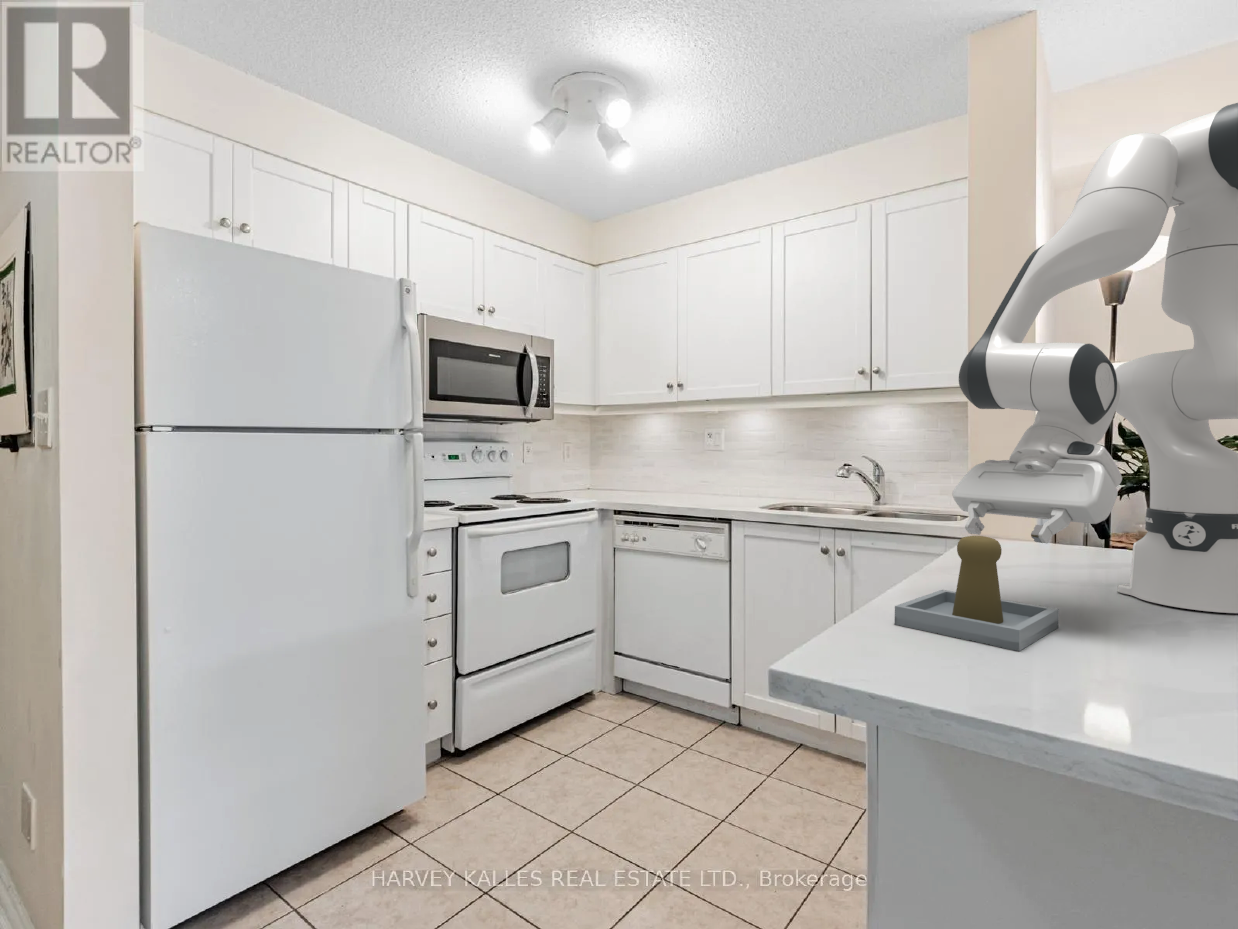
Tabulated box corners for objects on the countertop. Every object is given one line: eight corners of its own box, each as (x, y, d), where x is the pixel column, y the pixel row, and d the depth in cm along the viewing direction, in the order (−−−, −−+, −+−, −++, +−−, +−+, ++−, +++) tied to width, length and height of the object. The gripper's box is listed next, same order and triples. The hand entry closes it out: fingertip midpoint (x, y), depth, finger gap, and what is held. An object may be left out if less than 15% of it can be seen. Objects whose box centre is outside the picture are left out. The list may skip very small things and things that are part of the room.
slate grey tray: (941, 606, 98) (942, 589, 97) (1058, 627, 86) (1058, 609, 86) (894, 624, 88) (894, 606, 88) (1019, 651, 76) (1019, 630, 76)
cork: (1011, 625, 84) (1013, 540, 83) (961, 623, 85) (963, 539, 84) (992, 613, 90) (994, 534, 89) (945, 611, 91) (947, 532, 90)
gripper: (969, 446, 101) (926, 513, 97) (1117, 446, 83) (1072, 529, 79) (988, 474, 103) (946, 540, 99) (1136, 479, 85) (1093, 561, 81)
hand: (1003, 535), depth 89 cm, fingers open, 8 cm apart
